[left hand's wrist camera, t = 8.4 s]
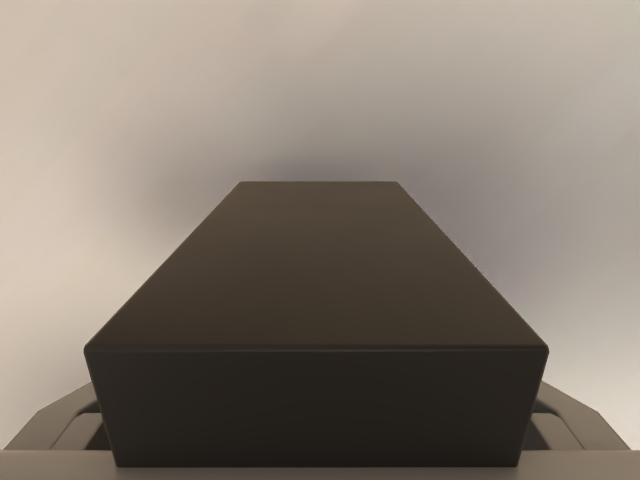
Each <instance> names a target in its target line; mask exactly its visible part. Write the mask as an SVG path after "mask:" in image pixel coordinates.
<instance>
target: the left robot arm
mask: <svg viewBox="0 0 640 480" xmlns="http://www.w3.org/2000/svg"><path fill="white" fill-rule="evenodd" d="M0 480H640V450H631V449H630V448H629V447H628V446H627V444H626V443H625V442H624V441H623V440H622V439H621V438H620V436H619V435H618V434H617V433H616V432H615V431H614V430H613V429H612V427H611V426H610V425H609V424H608V423H607V422H606V421H605V420H604V418H603V417H602V416H601V415H600V414H599V413H598V412H597V411H595V410H593V409H592V408H590V407H588V406H586V405H584V404H583V403H581V402H579V401H577V400H576V399H574V398H572V397H570V396H568V395H567V394H565V393H563V392H561V391H560V390H558V389H556V388H554V387H552V386H551V385H549V384H547V383H545V382H543V381H542V380H541V383H540V387H539V391H538V394H537V398H536V401H535V405H534V409H533V412H532V416H531V419H530V423H529V427H528V430H527V434H526V438H525V441H524V445H523V448H522V452H521V456H520V459H519V463H518V466H517V467H400V468H119V467H116V464H115V461H114V457H113V454H112V450H111V447H110V443H109V440H108V436H107V433H106V429H105V426H104V422H103V419H102V415H101V412H100V408H99V405H98V401H97V398H96V394H95V391H94V387H93V384H92V382H90V383H88V384H87V385H85V386H83V387H81V388H79V389H78V390H76V391H74V392H72V393H70V394H69V395H67V396H65V397H63V398H61V399H60V400H58V401H56V402H54V403H52V404H51V405H49V406H47V407H45V408H43V409H41V410H40V411H38V412H37V413H36V414H35V415H34V416H33V417H32V419H31V420H30V421H29V422H28V423H27V424H26V425H25V426H24V427H23V428H22V430H21V431H20V432H19V433H18V434H17V435H16V436H15V437H14V438H13V440H12V441H11V442H10V443H9V444H8V445H7V446H6V447H5V448H4V450H0Z"/></svg>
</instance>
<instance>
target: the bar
mask: <svg viewBox="0 0 640 480" xmlns="http://www.w3.org/2000/svg"><path fill="white" fill-rule="evenodd" d="M548 355H549V348H548V346H547V344H546V343H545V342H544V341H543V340H542V339H541V338H540V337H539V336H538V335H537V334H536V333H535V331H534V330H533V329H532V328H531V327H530V326H529V325H528V324H527V323H526V322H525V321H524V319H523V318H522V317H521V316H520V315H519V314H518V313H517V312H516V311H515V310H514V309H513V308H512V306H511V305H510V304H509V303H508V302H507V301H506V300H505V299H504V298H503V297H502V296H501V294H500V293H499V292H498V291H497V290H496V289H495V288H494V287H493V286H492V285H491V284H490V283H489V281H488V280H487V279H486V278H485V277H484V276H483V275H482V274H481V273H480V272H479V271H478V269H477V268H476V267H475V266H474V265H473V264H472V263H471V262H470V261H469V260H468V259H467V258H466V256H465V255H464V254H463V253H462V252H461V251H460V250H459V249H458V248H457V247H456V246H455V244H454V243H453V242H452V241H451V240H450V239H449V238H448V237H447V236H446V235H445V234H444V233H443V231H442V230H441V229H440V228H439V227H438V226H437V225H436V224H435V223H434V222H433V221H432V219H431V218H430V217H429V216H428V215H427V214H426V213H425V212H424V211H423V210H422V209H421V208H420V206H419V205H418V204H417V203H416V202H415V201H414V200H413V199H412V198H411V197H410V196H409V194H408V193H407V192H406V191H405V190H404V189H403V188H402V187H401V186H400V185H399V184H398V183H397V182H240V183H239V184H238V185H237V186H236V187H235V188H234V189H233V190H232V191H231V192H230V193H229V194H228V195H227V196H226V198H225V199H224V200H223V201H222V202H221V203H220V204H219V205H218V206H217V207H216V208H215V209H214V210H213V211H212V212H211V213H210V214H209V215H208V217H207V218H206V219H205V220H204V221H203V222H202V223H201V224H200V225H199V226H198V227H197V228H196V229H195V230H194V231H193V232H192V233H191V234H190V235H189V237H188V238H187V239H186V240H185V241H184V242H183V243H182V244H181V245H180V246H179V247H178V248H177V249H176V250H175V251H174V252H173V253H172V254H171V256H170V257H169V258H168V259H167V260H166V261H165V262H164V263H163V264H162V265H161V266H160V267H159V268H158V269H157V270H156V271H155V272H154V273H153V275H152V276H151V277H150V278H149V279H148V280H147V281H146V282H145V283H144V284H143V285H142V286H141V287H140V288H139V289H138V290H137V291H136V292H135V294H134V295H133V296H132V297H131V298H130V299H129V300H128V301H127V302H126V303H125V304H124V305H123V306H122V307H121V308H120V309H119V310H118V311H117V313H116V314H115V315H114V316H113V317H112V318H111V319H110V320H109V321H108V322H107V323H106V324H105V325H104V326H103V327H102V328H101V329H100V330H99V332H98V333H97V334H96V335H95V336H94V337H93V338H92V339H91V340H90V341H89V342H88V343H87V344H86V345H85V347H84V356H85V359H86V363H87V366H88V370H89V373H90V377H91V380H92V384H93V387H94V391H95V394H96V398H97V401H98V405H99V408H100V412H101V415H102V419H103V422H104V426H105V429H106V433H107V436H108V440H109V443H110V447H111V450H112V454H113V457H114V461H115V464H116V467H119V468H400V467H517V466H518V463H519V459H520V456H521V452H522V448H523V445H524V441H525V438H526V434H527V430H528V427H529V423H530V419H531V416H532V412H533V409H534V405H535V401H536V398H537V394H538V391H539V387H540V383H541V380H542V376H543V373H544V369H545V365H546V362H547V358H548Z"/></svg>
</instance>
